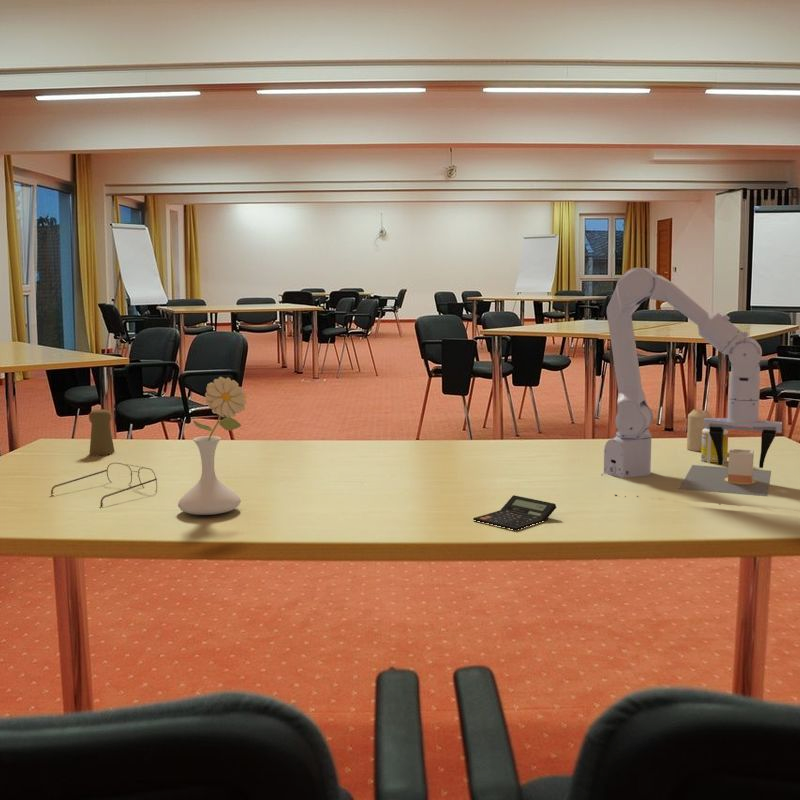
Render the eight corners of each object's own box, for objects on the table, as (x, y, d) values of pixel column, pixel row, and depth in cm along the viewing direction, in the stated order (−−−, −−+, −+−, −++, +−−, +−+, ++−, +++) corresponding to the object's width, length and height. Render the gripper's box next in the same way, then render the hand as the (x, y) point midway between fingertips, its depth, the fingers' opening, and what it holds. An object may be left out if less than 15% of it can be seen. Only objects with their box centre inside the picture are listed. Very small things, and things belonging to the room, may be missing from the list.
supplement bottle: (731, 465, 197) (733, 420, 196) (718, 469, 194) (720, 423, 192) (709, 461, 202) (711, 417, 200) (695, 465, 198) (697, 420, 197)
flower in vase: (179, 522, 155) (173, 382, 151) (177, 506, 166) (171, 375, 162) (253, 516, 158) (249, 379, 155) (246, 501, 169) (242, 372, 166)
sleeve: (751, 483, 175) (752, 453, 174) (727, 481, 176) (729, 452, 176) (752, 478, 179) (753, 449, 178) (729, 477, 180) (730, 448, 180)
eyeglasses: (162, 493, 179) (161, 469, 178) (101, 508, 167) (99, 483, 166) (112, 483, 188) (111, 460, 187) (50, 497, 176) (49, 473, 175)
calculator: (473, 522, 154) (473, 506, 154) (514, 510, 162) (514, 494, 162) (515, 533, 147) (515, 515, 147) (556, 519, 155) (556, 503, 155)
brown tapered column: (89, 452, 220) (87, 408, 219) (115, 450, 222) (112, 407, 221) (88, 456, 215) (86, 412, 213) (114, 454, 217) (112, 410, 215)
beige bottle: (712, 448, 217) (714, 408, 215) (707, 452, 212) (709, 411, 211) (689, 446, 220) (691, 407, 218) (684, 450, 215) (685, 410, 214)
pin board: (767, 501, 165) (768, 475, 165) (678, 493, 172) (679, 468, 171) (770, 475, 187) (771, 452, 186) (692, 469, 194) (693, 447, 193)
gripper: (783, 398, 176) (780, 464, 178) (707, 394, 182) (704, 458, 184) (783, 402, 170) (779, 471, 171) (704, 399, 175) (701, 465, 177)
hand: (740, 465), depth 177 cm, fingers open, 7 cm apart
